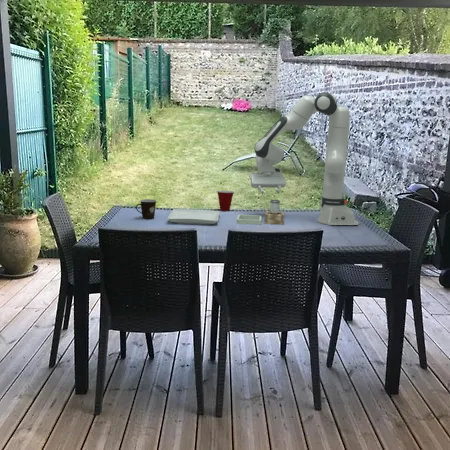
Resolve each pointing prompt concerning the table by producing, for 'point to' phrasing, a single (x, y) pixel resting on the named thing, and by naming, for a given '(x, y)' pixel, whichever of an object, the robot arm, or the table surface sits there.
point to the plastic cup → (225, 199)
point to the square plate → (193, 216)
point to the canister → (274, 207)
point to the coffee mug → (147, 208)
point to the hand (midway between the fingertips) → (270, 192)
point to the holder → (274, 218)
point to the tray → (254, 218)
